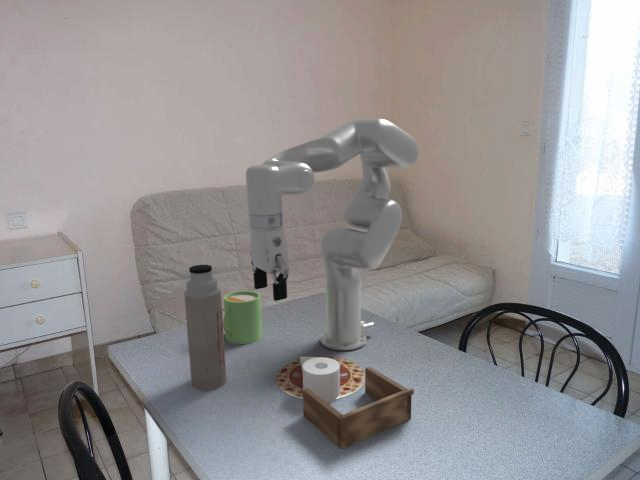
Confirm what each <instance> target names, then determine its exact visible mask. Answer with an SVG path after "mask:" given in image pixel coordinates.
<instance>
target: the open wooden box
mask: <svg viewBox="0 0 640 480" xmlns="http://www.w3.org/2000/svg"><path fill="white" fill-rule="evenodd" d="M364 371H365V372H364V376H365V378H364V379H365V380H364V381H365V382H364V386H365V387H364V390H365V391H364V393H365V394H366V395H368V396H369V397H371V398H373V399H374V400H376V401H374V402H370V403H368V404H366V405H364V406H361V407H357V408H356V409H354V410H351V411H348V412H346V413H343V414H342V413H341V412H340V411H338V409H336V408H335V407H333V406H332V405H331V404H330V403H327V402H325V401H324V400H323V399H321V398H320V397H319V396H317V395H316V394H315V393H314V392H312V391H311V390H310V389H308V388H306V389H303V388H302V410H303V411H302V416H303V417H304V419H306V420H307V421H308V422H309V423H310V424H312V426H313V427H315V428H316V429H318V430H319V431H320V432H321V433H322V434H323V435H325V436H326V438H328V439H329V441H331V442H333V444H335V445H336V447H337V446H338V448H340V449H341V450H343V449H346V448H347V447H349V446H353V445H354V444H356V443H359V442H361V441H362V440H363V441H364V440H365V439H368V438H370V437H372V436H374V435H376V434H378V433H381V432H384V431H385V430H387V429H390V428H392V427H395V426H397V425H398V424H399V425H400V424H401V423H404V422H406V421H408V420H411V419H412V398H413V397H412V395H414V394H415V392H414V391H415V389H414V388H413V387H412V388H411V387H410V388H407V387H406V386H404V385H402V384H400V383H398V382H396V381H395V380H393V379H392V378H390V377H388V376H386V375H385V374H383V373H382V372H380V371H378V370H377V369H375V368H373V367H371V366H367V367H365V368H364Z"/></svg>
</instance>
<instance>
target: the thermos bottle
mask: <svg viewBox="0 0 640 480" xmlns="http://www.w3.org/2000/svg"><path fill="white" fill-rule="evenodd" d="M188 270H189V271H188V272H189V273H190V274H189V277H190V279H189V280H188V281H187V282H186V285H185V286H186V290H185V291H184V292H183V293H184V303H185V304H184V305H185V306H184V307H185V319H186V329H187V331H186V332H187V343H188V351H189V367H190V368H189V369H190V381H191V386H192V387H193V388H194V389H196V390H198V391H204V392H205V391H213V390H217V389H220V388H222V387H223V386H224V385H225V384H226V382H227V368H226V353H225V351H226V350H225V339H224V338H225V336H224V334H225V332H224V327H223V320H224V317H223V308H222V304H223V303H222V290H221V288H220V287H219V286H218V285H219V284H218V280H217V278H215V277H213V275H214V274H213V267H212V265H209V264H197V265H192V266H191V267H189V269H188Z"/></svg>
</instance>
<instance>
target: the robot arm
mask: <svg viewBox="0 0 640 480" xmlns="http://www.w3.org/2000/svg"><path fill="white" fill-rule="evenodd" d="M357 156H360V160H361V161H360V162H361V167H362V180H360V181H361V182H360V183H359V186H357V187H358V188H357V189H356V191H355V192H354V194H353V196H352V198H351V200H350V201H349V203H348V204H347V206H346V207H345V208H346V209H345V211H344V214H343V220H344V223H345V225H346V226H347V227H348V228H347V227H333V228H330V229H328V230H327V231H326V232H325V233H324V234H323V236H322V239H321V241H320V252H321V256H322V261H323V267H324V279H325V280H324V281H325V282H324V283H325V332H323V333H322V334H321V335H320V343H321V345H322V346H324V347H325V348H327V349H330V350H335V351H352V350H356V349H359V348H362V347H364V345H366V344H367V335H366V334H365V333H366V332H367V331H370V330H373V329H375V326H376V325H375V323H374V322H373V321H369V322H367V323H365V321H364V320H361V319H362V300H361V299H362V279H361V274H360V271H359V269H360V270H366V271H371V270H375V269H376V268H378V267H379V266H380V265H381V264H382V262H383V261H384V259H385V257H386V256H387V254H388V252H389V250H390V248H391V246H392V245H393V242H394V241H395V239H396V236H397V235H398V233H399V231H400V229H401V227H402V226H401V225H402V221H403V211H402V208H401V205H400V203H398V202H397V201H395V200H394V199H391V198H389V196H390V193H391V190H392V186H391V185H392V184H391V180H390V177H389V176H388V172H387V169H386V168H395V169H397V168H399V169H407V168H410V167H411V166H413V165H414V164H415V163H416V161H417V159H418V157H419V145H418V143H417V142H416V139H415V138H414V137H413V136H412V135H410V134H409V133H407V132H406V131H405V130H403V129H401V128H400V127H399V126H398V125H395V124H394V123H392V122H391V121H389V120H387V119H383V118H356V119H351V120H350V121H347V122H346V123H343V124H342V125H340V126H339V127H337V128H335V129H333V130H332V131H330V132H328V133H327V134H325V135H323V136H320V137H318V138H316V139H313V140H310V141H307V142H303V143H301V144H298V145H296V146H292V147H290V148H287V149H284V150H282V151H281V152H279V153H276V154H275V155H273V156H272V157H270V158H268V159H267V160H265V161H264V162H263V163H262V164H257V165H256V164H255V165H251V166H248V168H247V169H246V171H245V181H246V196H247V199H246V200H247V209H248V210H247V211H248V212H247V213H248V225H249V226H248V227H249V230H250V251H249V254H250V258H251V266H252V272H253V285H254V287H253V288H254V289H255V290H259V289H264V288H267V287H268V275H267V274H269V275H271V278H272V279H273V283H272V294H273V295H272V297H273V298H272V299H273V301H275V302H278V301H283V300H285V299H287V298H288V285H287V283H288V277H289V271H290V266H289V257H288V247H287V245H288V244H287V240H286V235H285V234H286V233H285V231H284V228H283V227H284V221H283V220H284V219H283V201H282V199H283V198H282V197H283V196H301V195H303V194H306V193H307V192H309V191H311V189H312V187H313V186H314V184H315V173H322V172H323V173H324V172H329V171H332V170H336V169H338V168H340V167H342V166H343V165H344V164H346V163H347V162H349V161H350V160H352V159H353V158H355V157H357ZM277 274H278V276H277Z"/></svg>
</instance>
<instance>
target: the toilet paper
mask: <svg viewBox="0 0 640 480" xmlns="http://www.w3.org/2000/svg"><path fill="white" fill-rule="evenodd" d="M299 361H300V367H301V371H302V390H303V389H306V388H308V389H310V390H311V391H312V392H314V393H315V394H316V395H317V396H319V397H320V398H321V399H323V400H324V401H325V402H327V403H328V404H331V403H334V402H336V401H337V400H338V399H336V398H337V397H338V396H339V394H340V395H341V364H340V363H339V361H338V360H336V359H334V358H332V357H325V356H324V357H320V356H319V357H318V356H317V357H316V356H299Z"/></svg>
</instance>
